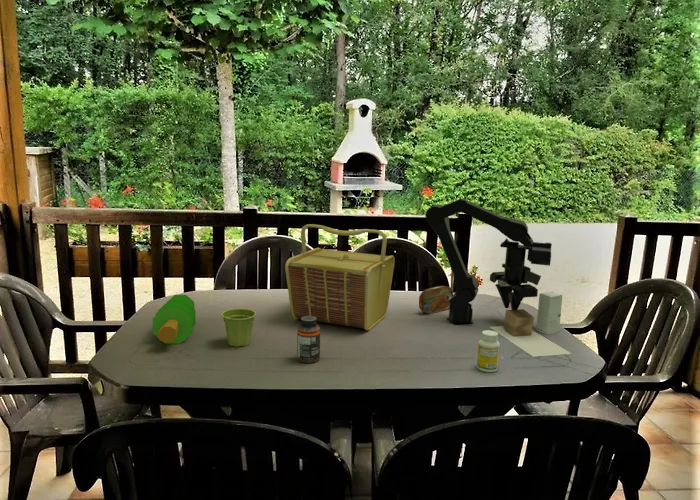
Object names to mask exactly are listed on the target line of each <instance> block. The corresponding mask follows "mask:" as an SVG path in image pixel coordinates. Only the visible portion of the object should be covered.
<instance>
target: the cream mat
mask: <svg viewBox="0 0 700 500" xmlns="http://www.w3.org/2000/svg"><path fill="white" fill-rule="evenodd" d="M489 328H490V329H492V331H495V332H497V333H498V335H500V336H502V337H503V338H505V339H506V340H508V341H509V342H511V343H512V344H514V345H516V347H518V348H520V349H521V350H523V351H524V352H525V353H527V354H528V355H530V356H531V357H533V358H534V357H544V356H546V357H547V356H560V355H572V352H570V351H568V350H567V349H565V348H563V347H561V346H560V345H558V344H556V343H555V342H553V341H551V340H550V339H548V338H546V337H545V336H543V335H541V334H539V333H538V332H537V331H536V330H535V331H534V330H533V329H532V334H531V335H529V336H514V337H513V336H512V335H511V334H510V333H509V332H507V331H506V330H505V329H504V325H498V326H495V325H494V326H489Z"/></svg>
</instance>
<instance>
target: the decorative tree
mask: <svg viewBox="0 0 700 500" xmlns="http://www.w3.org/2000/svg"><path fill="white" fill-rule="evenodd" d="M195 308H196V307H195V301H194V300H193V299H191V298H190V297H189V296H188V295H187V294H174V295H173V296H172V297H170V299H169V300H167V301H166V302H165V303H164V304H163V305H162V306H161V307H160V308H159V309H158V311H157V312H156V313H155V315H154V316H153V318H152V334H153V335H154V336H155V337H156V338H158V340H159V341H160V342H162V343H164V344H165V345H166V344H170V345H171V344H182V343H183V342H184V341H185V340H186V339H187V338H189V336H190V335H192V333H193V329H194V327H195V325H196V324H197V318H196V309H195Z"/></svg>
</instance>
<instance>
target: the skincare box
mask: <svg viewBox="0 0 700 500" xmlns="http://www.w3.org/2000/svg"><path fill="white" fill-rule="evenodd" d="M562 301H563V294H561V293H559V292H554V291H546V292H541V293H539V294H538V306H537V307H538V309H537V317H536V330H535V332H540V333H542V334H545V335H549V334H555V333H558V332H560V328H561V327H560V325H561V313H562V303H563V302H562Z"/></svg>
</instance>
